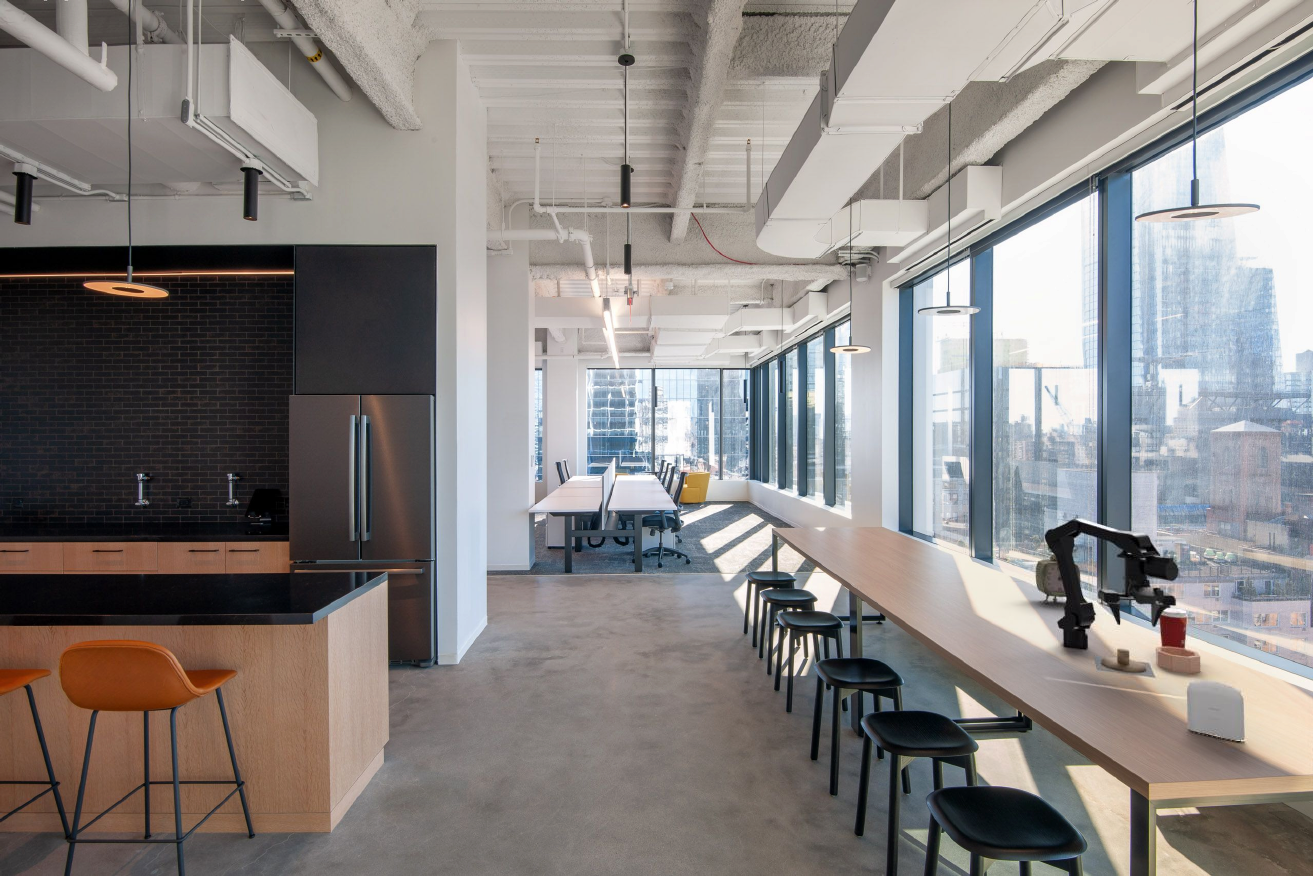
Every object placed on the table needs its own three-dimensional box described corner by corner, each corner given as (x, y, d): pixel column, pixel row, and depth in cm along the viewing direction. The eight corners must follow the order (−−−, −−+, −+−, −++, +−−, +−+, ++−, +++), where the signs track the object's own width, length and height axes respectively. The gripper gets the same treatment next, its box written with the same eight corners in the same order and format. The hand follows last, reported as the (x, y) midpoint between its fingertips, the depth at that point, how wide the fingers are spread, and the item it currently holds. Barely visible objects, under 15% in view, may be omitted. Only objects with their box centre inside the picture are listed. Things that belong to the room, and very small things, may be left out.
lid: (1102, 668, 198) (1102, 652, 198) (1100, 657, 208) (1100, 642, 208) (1148, 675, 193) (1148, 658, 193) (1143, 663, 202) (1143, 647, 202)
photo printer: (1186, 732, 157) (1185, 679, 157) (1188, 726, 160) (1187, 675, 160) (1244, 745, 150) (1243, 690, 150) (1245, 739, 153) (1244, 685, 153)
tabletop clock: (1042, 604, 275) (1042, 544, 275) (1034, 599, 284) (1033, 541, 284) (1080, 606, 273) (1080, 545, 273) (1070, 600, 282) (1070, 541, 282)
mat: (1097, 671, 198) (1097, 669, 198) (1094, 657, 210) (1094, 655, 210) (1155, 679, 191) (1155, 677, 191) (1148, 664, 203) (1148, 662, 203)
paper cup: (1194, 658, 208) (1193, 613, 208) (1166, 657, 210) (1165, 612, 210) (1179, 650, 216) (1179, 607, 216) (1153, 649, 217) (1152, 606, 217)
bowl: (1159, 671, 198) (1159, 654, 198) (1154, 661, 206) (1154, 644, 206) (1202, 676, 192) (1202, 659, 192) (1195, 666, 201) (1195, 649, 201)
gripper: (1111, 578, 196) (1111, 631, 196) (1185, 581, 191) (1185, 635, 191) (1097, 571, 207) (1097, 620, 207) (1166, 573, 202) (1166, 624, 202)
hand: (1136, 625), depth 202 cm, fingers open, 9 cm apart
